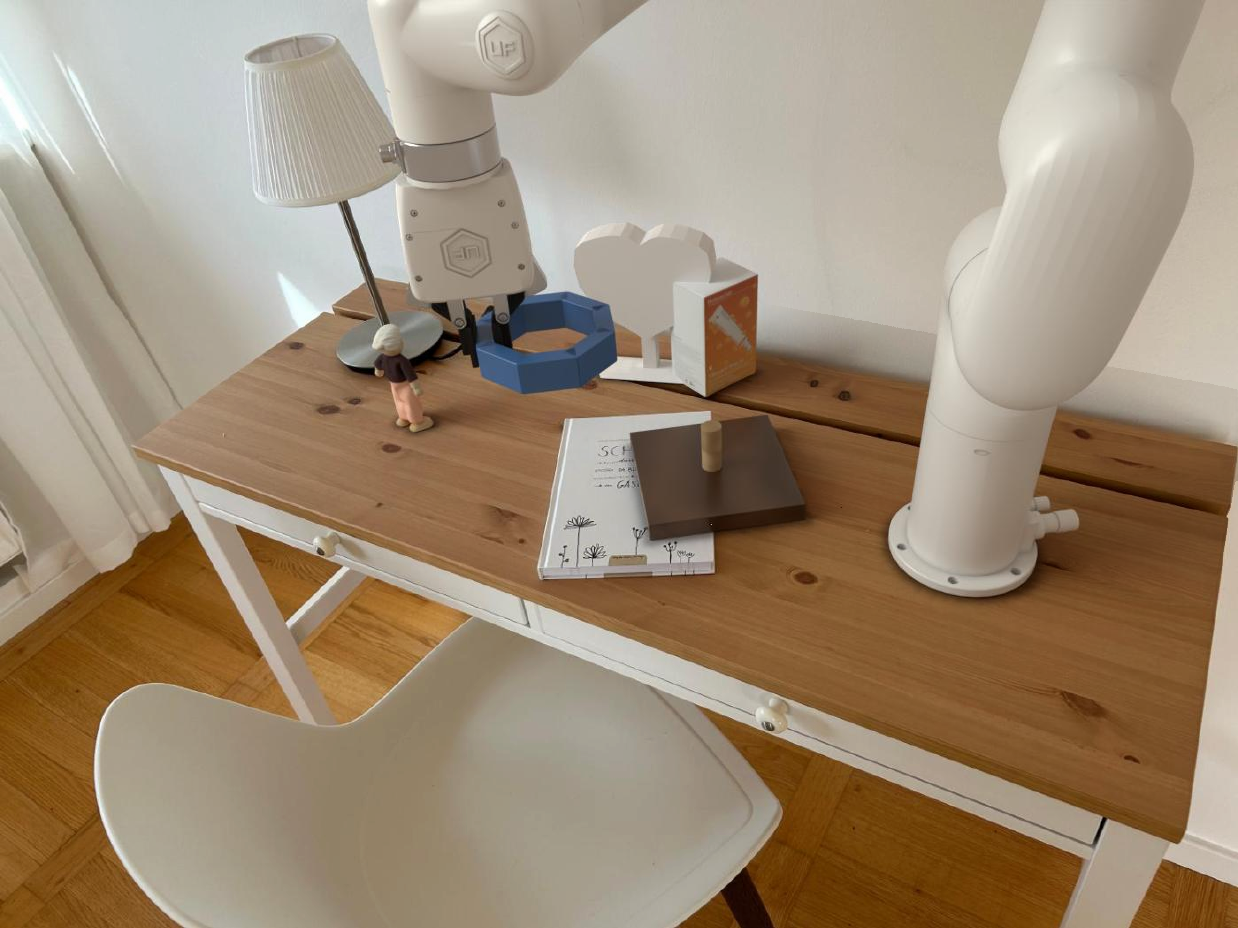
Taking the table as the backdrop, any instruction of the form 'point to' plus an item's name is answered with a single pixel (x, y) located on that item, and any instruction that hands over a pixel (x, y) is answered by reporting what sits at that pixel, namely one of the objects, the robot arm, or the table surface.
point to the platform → (714, 477)
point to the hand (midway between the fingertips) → (489, 357)
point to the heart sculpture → (642, 284)
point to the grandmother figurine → (400, 378)
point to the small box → (715, 328)
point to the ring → (555, 365)
